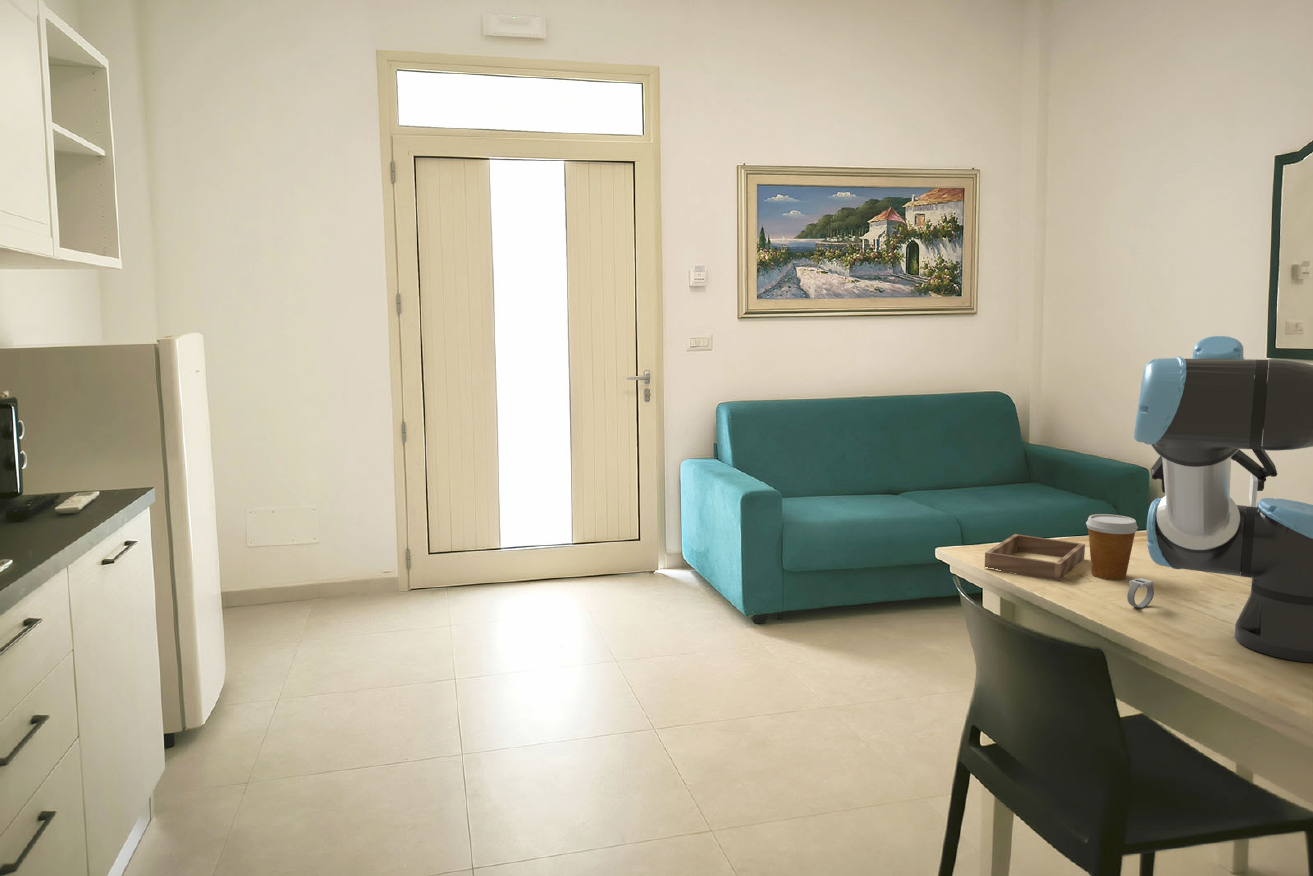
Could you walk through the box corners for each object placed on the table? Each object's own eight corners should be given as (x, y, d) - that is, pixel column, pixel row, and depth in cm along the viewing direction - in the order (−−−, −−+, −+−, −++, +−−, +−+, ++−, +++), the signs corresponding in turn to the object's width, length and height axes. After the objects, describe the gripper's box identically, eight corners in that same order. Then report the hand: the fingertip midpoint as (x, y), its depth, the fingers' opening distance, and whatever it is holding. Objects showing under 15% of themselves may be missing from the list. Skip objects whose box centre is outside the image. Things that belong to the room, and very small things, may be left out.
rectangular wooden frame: (1059, 581, 179) (1060, 564, 178) (984, 568, 188) (985, 552, 188) (1084, 559, 194) (1085, 543, 194) (1013, 548, 204) (1014, 534, 203)
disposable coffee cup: (1130, 585, 176) (1134, 526, 174) (1078, 577, 181) (1081, 520, 180) (1138, 574, 183) (1142, 517, 181) (1088, 566, 189) (1091, 511, 187)
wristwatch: (1142, 602, 165) (1144, 576, 165) (1157, 606, 163) (1158, 580, 162) (1122, 607, 162) (1123, 581, 162) (1136, 612, 160) (1138, 585, 159)
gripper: (1293, 398, 158) (1284, 488, 170) (1135, 407, 169) (1136, 491, 180) (1302, 424, 153) (1292, 515, 164) (1138, 431, 164) (1139, 516, 175)
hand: (1210, 502), depth 172 cm, fingers open, 13 cm apart
